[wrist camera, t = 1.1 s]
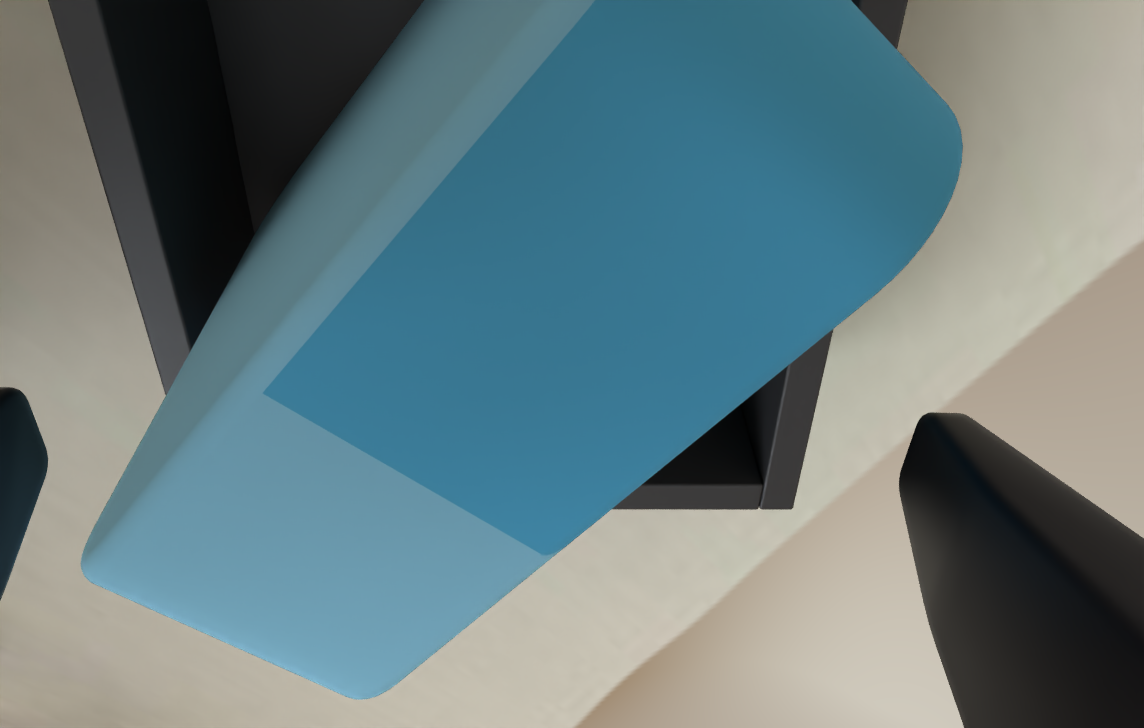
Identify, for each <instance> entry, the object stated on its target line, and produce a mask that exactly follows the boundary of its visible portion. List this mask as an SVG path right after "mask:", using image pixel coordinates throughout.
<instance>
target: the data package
mask: <svg viewBox="0 0 1144 728" xmlns="http://www.w3.org/2000/svg"><path fill="white" fill-rule="evenodd" d="M962 149H963V144H962V136H961V130H960V127H959V124H958V121H957V119H956V116H955V114H954V113H953V112H952V110H951V109H950V107H949V106H948V105H947V103H946V102H945V101H944V100H943V99H942V98H941V97H940V96H939V95H938V94H937V93H936V92H935V90H934V89H933V88H932V87H931V86H930V85H929V84H928V83H927V82H926V81H925V80H924V79H923V78H922V76H921V75H920V74H919V73H918V72H917V71H916V70H915V69H914V68H913V67H912V66H911V65H910V64H909V62H908V61H907V60H906V59H905V58H904V57H903V56H902V55H901V54H900V53H899V52H898V51H897V49H896V48H895V47H894V46H893V45H892V44H891V43H890V42H889V41H888V40H887V39H886V38H885V37H884V35H883V34H882V33H881V32H880V31H879V30H878V29H877V28H876V27H875V26H874V25H873V24H872V23H871V21H870V20H869V19H868V18H867V17H866V16H865V15H864V14H863V13H862V12H861V11H860V10H859V9H858V7H857V6H856V5H855V4H854V3H853V2H852V1H851V0H424V1H423V3H422V4H421V5H420V7H419V8H418V9H417V11H416V12H415V13H414V15H413V16H412V17H411V19H410V20H409V21H408V23H407V24H406V25H405V27H404V28H403V29H402V31H401V32H400V33H399V35H398V36H397V37H396V39H395V40H394V41H393V43H392V44H391V45H390V47H389V48H388V49H387V51H386V52H385V53H384V55H383V56H382V57H381V59H380V60H379V61H378V63H377V64H376V65H375V67H374V68H373V70H372V71H371V72H370V74H369V75H368V76H367V78H366V79H365V80H364V82H363V83H362V84H361V86H360V87H359V88H358V90H357V91H356V92H355V94H354V95H353V96H352V98H351V99H350V100H349V102H348V103H347V104H346V106H345V107H344V108H343V110H342V111H341V112H340V114H339V115H338V116H337V118H336V119H335V120H334V122H333V123H332V124H331V126H330V127H329V128H328V130H327V131H326V132H325V134H324V135H323V136H322V138H321V139H320V140H319V142H318V143H317V144H316V146H315V147H314V148H313V150H312V151H311V152H310V154H309V155H308V156H307V158H306V159H305V161H304V162H303V163H302V165H301V166H300V167H299V169H298V170H297V171H296V173H295V174H294V175H293V177H292V178H291V180H290V181H289V182H288V184H287V185H286V187H285V188H284V190H283V191H282V193H281V194H280V195H279V197H278V198H277V200H276V201H275V203H274V204H273V206H272V207H271V209H270V210H269V212H268V214H267V215H266V217H265V218H264V220H263V221H262V223H261V225H260V226H259V228H258V230H257V231H256V233H255V235H254V237H253V238H252V240H251V242H250V244H249V246H248V247H247V249H246V251H245V253H244V255H243V257H242V258H241V260H240V262H239V264H238V266H237V268H236V269H235V271H234V273H233V275H232V277H231V278H230V280H229V282H228V284H227V286H226V288H225V289H224V291H223V293H222V295H221V297H220V298H219V300H218V302H217V304H216V306H215V308H214V309H213V311H212V313H211V315H210V317H209V319H208V320H207V322H206V324H205V326H204V328H203V329H202V331H201V333H200V335H199V337H198V339H197V340H196V342H195V344H194V346H193V348H192V349H191V351H190V353H189V355H188V357H187V359H186V360H185V362H184V364H183V366H182V368H181V370H180V371H179V373H178V375H177V377H176V379H175V380H174V382H173V384H172V386H171V388H170V390H169V391H168V393H167V395H166V397H165V399H164V400H163V402H162V404H161V406H160V408H159V410H158V411H157V413H156V415H155V417H154V419H153V420H152V422H151V424H150V426H149V428H148V430H147V431H146V433H145V435H144V437H143V439H142V441H141V442H140V444H139V446H138V448H137V450H136V451H135V453H134V455H133V457H132V459H131V461H130V462H129V464H128V466H127V468H126V470H125V471H124V473H123V475H122V477H121V479H120V481H119V482H118V484H117V486H116V488H115V490H114V492H113V493H112V495H111V497H110V499H109V501H108V502H107V504H106V506H105V508H104V510H103V512H102V513H101V515H100V517H99V519H98V521H97V523H96V524H95V526H94V528H93V530H92V532H91V534H90V536H89V539H88V541H87V543H86V545H85V548H84V551H83V554H82V558H81V569H82V572H83V574H84V576H85V577H86V578H87V579H88V580H89V581H90V582H92V583H93V584H96V585H98V586H100V587H102V588H105V589H107V590H109V591H111V592H114V593H116V594H118V595H120V596H122V597H125V598H127V599H129V600H131V601H134V602H136V603H138V604H140V605H143V606H145V607H147V608H149V609H152V610H154V611H156V612H158V613H160V614H163V615H165V616H167V617H169V618H172V619H174V620H176V621H178V622H181V623H183V624H185V625H187V626H190V627H192V628H194V629H196V630H198V631H201V632H203V633H205V634H207V635H210V636H212V637H214V638H216V639H219V640H221V641H223V642H225V643H228V644H230V645H232V646H234V647H236V648H239V649H241V650H243V651H245V652H248V653H250V654H252V655H254V656H257V657H259V658H261V659H263V660H265V661H268V662H270V663H272V664H274V665H277V666H279V667H281V668H283V669H286V670H288V671H290V672H292V673H295V674H297V675H299V676H301V677H303V678H306V679H308V680H310V681H312V682H315V683H317V684H319V685H321V686H324V687H326V688H328V689H330V690H333V691H335V692H337V693H339V694H341V695H344V696H346V697H349V698H352V699H358V700H359V699H369V698H372V697H375V696H378V695H380V694H382V693H384V692H386V691H387V690H389V689H390V688H392V687H393V686H395V685H396V684H397V683H398V682H400V681H401V680H402V679H403V678H405V677H406V676H407V675H408V674H410V673H411V672H412V671H413V670H414V669H416V668H417V667H418V666H419V665H421V664H422V663H423V662H424V661H425V660H427V659H428V658H429V657H430V656H432V655H433V654H434V653H435V652H437V651H438V650H439V649H440V648H441V647H443V646H444V645H445V644H446V643H448V642H449V641H450V640H451V639H453V638H454V637H455V636H456V635H457V634H459V633H460V632H461V631H462V630H464V629H465V628H466V627H467V626H469V625H470V624H471V623H472V622H473V621H475V620H476V619H477V618H478V617H480V616H481V615H482V614H483V613H484V612H486V611H487V610H488V609H489V608H491V607H492V606H493V605H494V604H496V603H497V602H498V601H499V600H500V599H502V598H503V597H504V596H505V595H507V594H508V593H509V592H510V591H512V590H513V589H514V588H515V587H516V586H518V585H519V584H520V583H521V582H523V581H524V580H525V579H526V578H528V577H529V576H530V575H531V574H532V573H534V572H535V571H536V570H537V569H539V568H540V567H541V566H542V565H543V564H545V563H546V562H547V561H548V560H550V559H551V558H552V557H553V556H555V555H556V554H557V553H558V552H559V551H561V550H562V549H563V548H564V547H566V546H567V545H568V544H569V543H571V542H572V541H573V540H574V539H575V538H577V537H578V536H579V535H580V534H582V533H583V532H584V531H585V530H587V529H588V528H589V527H590V526H591V525H593V524H594V523H595V522H596V521H598V520H599V519H600V518H601V517H602V516H604V515H605V514H606V513H607V512H609V511H610V510H611V509H612V508H614V507H615V506H616V505H617V504H618V503H620V502H621V501H622V500H623V499H625V498H626V497H627V496H628V495H630V494H631V493H632V492H633V491H634V490H636V489H637V488H638V487H639V486H641V485H642V484H643V483H644V482H646V481H647V480H648V479H649V478H650V477H652V476H653V475H654V474H655V473H657V472H658V471H659V470H660V469H662V468H663V467H664V466H665V465H666V464H668V463H669V462H670V461H671V460H673V459H674V458H675V457H676V456H677V455H679V454H680V453H681V452H682V451H684V450H685V449H686V448H687V447H689V446H690V445H691V444H692V443H693V442H695V441H696V440H697V439H698V438H700V437H701V436H702V435H703V434H705V433H706V432H707V431H708V430H709V429H711V428H712V427H713V426H714V425H716V424H717V423H718V422H719V421H721V420H722V419H723V418H724V417H725V416H727V415H728V414H729V413H730V412H732V411H733V410H734V409H735V408H736V407H738V406H739V405H740V404H741V403H743V402H744V401H745V400H746V399H748V398H749V397H750V396H751V395H752V394H754V393H755V392H756V391H757V390H759V389H760V388H761V387H762V386H764V385H765V384H766V383H767V382H768V381H770V380H771V379H772V378H773V377H775V376H776V375H777V374H778V373H780V372H781V371H782V370H783V369H784V368H786V367H787V366H788V365H789V364H791V363H792V362H793V361H794V360H795V359H797V358H798V357H799V356H800V355H802V354H803V353H804V352H805V351H807V350H808V349H809V348H810V347H811V346H813V345H814V344H815V343H816V342H818V341H819V340H820V339H821V338H823V337H824V336H825V335H826V334H827V333H829V332H830V331H831V330H832V329H834V328H835V327H836V326H837V325H839V324H840V323H841V322H842V321H843V320H845V319H846V318H847V317H848V316H850V315H851V314H852V313H853V312H854V311H856V310H857V309H858V308H859V307H861V306H862V305H863V304H864V303H866V302H867V301H868V300H869V299H870V298H872V297H873V296H874V295H875V294H877V293H878V292H879V291H880V290H881V289H882V288H883V287H885V286H886V285H887V284H888V283H889V282H890V281H891V280H892V279H893V278H894V277H895V276H896V275H897V274H898V273H899V272H900V271H901V270H902V269H903V268H904V267H905V266H906V265H907V264H908V263H909V262H910V261H911V259H912V258H913V257H914V256H915V255H916V253H917V252H918V251H919V250H920V249H921V247H922V246H923V245H924V243H925V242H926V240H927V239H928V238H929V236H930V235H931V234H932V232H933V231H934V229H935V227H936V226H937V224H938V222H939V221H940V219H941V217H942V216H943V214H944V212H945V210H946V208H947V206H948V203H949V201H950V199H951V197H952V195H953V192H954V189H955V186H956V183H957V181H958V176H959V172H960V168H961V163H962Z"/></svg>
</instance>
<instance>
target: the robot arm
mask: <svg viewBox="0 0 1144 728" xmlns="http://www.w3.org/2000/svg"><path fill="white" fill-rule="evenodd" d="M47 467H48V456H47V450H46V447H45V444H44V442H43V439H42V436H41V434H40V431H39V428H38V426H37V423H36V420H35V418H34V415H33V413H32V410H31V407H30V405H29V402H28V400H27V398H26V396H25V395H24V394H23V393H22V392H21V391H20V390H18V389H15V388H10V387H0V600H1V598H2V595H3V593H4V590H5V588H6V585H7V582H8V580H9V577H10V574H11V571H12V568H13V566H14V563H15V560H16V557H17V554H18V552H19V549H20V546H21V543H22V541H23V538H24V535H25V532H26V529H27V527H28V524H29V521H30V518H31V515H32V513H33V510H34V507H35V504H36V502H37V499H38V496H39V493H40V490H41V488H42V485H43V482H44V479H45V476H46V473H47ZM899 491H900V497H901V501H902V506H903V511H904V515H905V520H906V524H907V529H908V533H909V538H910V543H911V547H912V552H913V556H914V561H915V566H916V570H917V575H918V579H919V584H920V588H921V593H922V597H923V602H924V606H925V610H926V614H927V618H928V622H929V625H930V628H931V631H932V635H933V638H934V641H935V644H936V647H937V650H938V653H939V656H940V659H941V662H942V664H943V667H944V670H945V673H946V676H947V679H948V682H949V685H950V687H951V690H952V693H953V696H954V699H955V702H956V705H957V708H958V710H959V713H960V716H961V719H962V722H963V725H964V728H1144V538H1142V537H1141V536H1139V535H1138V534H1137V533H1135V532H1134V531H1132V530H1131V529H1129V528H1128V527H1126V526H1125V525H1124V524H1122V523H1121V522H1119V521H1118V520H1116V519H1115V518H1114V517H1112V516H1111V515H1109V514H1108V513H1106V512H1105V511H1104V510H1102V509H1101V508H1099V507H1098V506H1096V505H1095V504H1093V503H1092V502H1091V501H1089V500H1088V499H1086V498H1085V497H1084V496H1082V495H1081V494H1079V493H1078V492H1076V491H1075V490H1073V489H1072V488H1071V487H1069V486H1068V485H1066V484H1065V483H1063V482H1062V481H1060V480H1059V479H1058V478H1056V477H1055V476H1053V475H1052V474H1051V473H1049V472H1048V471H1046V470H1045V469H1043V468H1042V467H1040V466H1039V465H1038V464H1036V463H1035V462H1033V461H1032V460H1031V459H1029V458H1028V457H1026V456H1025V455H1023V454H1022V453H1020V452H1019V451H1017V450H1016V449H1015V448H1013V447H1012V446H1010V445H1009V444H1008V443H1006V442H1005V441H1003V440H1002V439H1000V438H999V437H997V436H996V435H995V434H993V433H992V432H990V431H989V430H987V429H986V428H985V427H983V426H982V425H980V424H979V423H977V422H976V421H975V420H973V419H972V418H970V417H969V416H967V415H964V414H960V413H927V414H925V415H923V416H922V417H921V418H920V420H919V421H918V423H917V426H916V428H915V431H914V434H913V437H912V440H911V443H910V446H909V449H908V451H907V454H906V457H905V460H904V463H903V466H902V469H901V472H900V478H899Z"/></svg>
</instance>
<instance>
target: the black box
mask: <svg viewBox="0 0 1144 728" xmlns="http://www.w3.org/2000/svg"><path fill="white" fill-rule="evenodd" d="M423 1H424V0H48V2H49V5H50V8H51V12H52V15H53V19H54V22H55V25H56V29H57V32H58V35H59V39H60V42H61V45H62V49H63V52H64V55H65V59H66V62H67V65H68V69H69V72H70V76H71V79H72V82H73V86H74V89H75V92H76V96H77V99H78V102H79V106H80V109H81V112H82V116H83V119H84V123H85V126H86V129H87V133H88V136H89V139H90V143H91V146H92V149H93V153H94V156H95V159H96V163H97V166H98V169H99V173H100V176H101V180H102V183H103V186H104V190H105V193H106V196H107V200H108V203H109V206H110V210H111V213H112V216H113V220H114V223H115V227H116V230H117V233H118V237H119V240H120V243H121V247H122V250H123V253H124V257H125V260H126V263H127V267H128V270H129V273H130V277H131V280H132V284H133V287H134V290H135V294H136V297H137V300H138V304H139V307H140V310H141V314H142V317H143V320H144V324H145V327H146V331H147V334H148V337H149V341H150V344H151V347H152V351H153V354H154V357H155V361H156V364H157V367H158V371H159V374H160V377H161V381H162V384H163V388H164V391H165V394H166V395H167V393H168V391H169V390H170V388H171V386H172V384H173V382H174V380H175V379H176V377H177V375H178V373H179V371H180V370H181V368H182V366H183V364H184V362H185V360H186V359H187V357H188V355H189V353H190V351H191V349H192V348H193V346H194V344H195V342H196V340H197V339H198V337H199V335H200V333H201V331H202V329H203V328H204V326H205V324H206V322H207V320H208V319H209V317H210V315H211V313H212V311H213V309H214V308H215V306H216V304H217V302H218V300H219V298H220V297H221V295H222V293H223V291H224V289H225V288H226V286H227V284H228V282H229V280H230V278H231V277H232V275H233V273H234V271H235V269H236V268H237V266H238V264H239V262H240V260H241V258H242V257H243V255H244V253H245V251H246V249H247V247H248V246H249V244H250V242H251V240H252V238H253V237H254V235H255V233H256V231H257V230H258V228H259V226H260V225H261V223H262V221H263V220H264V218H265V217H266V215H267V214H268V212H269V210H270V209H271V207H272V206H273V204H274V203H275V201H276V200H277V198H278V197H279V195H280V194H281V193H282V191H283V190H284V188H285V187H286V185H287V184H288V182H289V181H290V180H291V178H292V177H293V175H294V174H295V173H296V171H297V170H298V169H299V167H300V166H301V165H302V163H303V162H304V161H305V159H306V158H307V156H308V155H309V154H310V152H311V151H312V150H313V148H314V147H315V146H316V144H317V143H318V142H319V140H320V139H321V138H322V136H323V135H324V134H325V132H326V131H327V130H328V128H329V127H330V126H331V124H332V123H333V122H334V120H335V119H336V118H337V116H338V115H339V114H340V112H341V111H342V110H343V108H344V107H345V106H346V104H347V103H348V102H349V100H350V99H351V98H352V96H353V95H354V94H355V92H356V91H357V90H358V88H359V87H360V86H361V84H362V83H363V82H364V80H365V79H366V78H367V76H368V75H369V74H370V72H371V71H372V70H373V68H374V67H375V65H376V64H377V63H378V61H379V60H380V59H381V57H382V56H383V55H384V53H385V52H386V51H387V49H388V48H389V47H390V45H391V44H392V43H393V41H394V40H395V39H396V37H397V36H398V35H399V33H400V32H401V31H402V29H403V28H404V27H405V25H406V24H407V23H408V21H409V20H410V19H411V17H412V16H413V15H414V13H415V12H416V11H417V9H418V8H419V7H420V5H421V4H422V3H423ZM851 1H852V2H853V3H854V4H855V5H856V6H857V7H858V9H859V10H860V11H861V12H862V13H863V14H864V15H865V16H866V17H867V18H868V19H869V20H870V21H871V23H872V24H873V25H874V26H875V27H876V28H877V29H878V30H879V31H880V32H881V33H882V34H883V35H884V37H885V38H886V39H887V40H888V41H889V42H890V43H891V44H892V45H893V46H894V47H895V48H896V49H897V46H898V42H899V37H900V33H901V28H902V24H903V20H904V15H905V11H906V6H907V2H908V0H851ZM832 333H833V329H832V330H831V331H830V332H829V333H827V334H826V335H825V336H824V337H823V338H821V339H820V340H819V341H818V342H816V343H815V344H814V345H813V346H811V347H810V348H809V349H808V350H807V351H805V352H804V353H803V354H802V355H800V356H799V357H798V358H797V359H795V360H794V361H793V362H792V363H791V364H789V365H788V366H787V367H786V368H784V369H783V370H782V371H781V372H780V373H778V374H777V375H776V376H775V377H773V378H772V379H771V380H770V381H768V382H767V383H766V384H765V385H764V386H762V387H761V388H760V389H759V390H757V391H756V392H755V393H754V394H752V395H751V396H750V397H749V398H748V399H746V400H745V401H744V402H743V403H741V404H740V405H739V406H738V407H736V408H735V409H734V410H733V411H732V412H730V413H729V414H728V415H727V416H725V417H724V418H723V419H722V420H721V421H719V422H718V423H717V424H716V425H714V426H713V427H712V428H711V429H709V430H708V431H707V432H706V433H705V434H703V435H702V436H701V437H700V438H698V439H697V440H696V441H695V442H693V443H692V444H691V445H690V446H689V447H687V448H686V449H685V450H684V451H682V452H681V453H680V454H679V455H677V456H676V457H675V458H674V459H673V460H671V461H670V462H669V463H668V464H666V465H665V466H664V467H663V468H662V469H660V470H659V471H658V472H657V473H655V474H654V475H653V476H652V477H650V478H649V479H648V480H647V481H646V482H644V483H643V484H642V485H641V486H639V487H638V488H637V489H636V490H634V491H633V492H632V493H631V494H630V495H628V496H627V497H626V498H625V499H623V500H622V501H621V502H620V503H618V504H617V505H616V506H615V507H614V508H612V509H758V508H759V507H760V509H792V508H793V505H794V500H795V496H796V492H797V487H798V483H799V478H800V474H801V470H802V465H803V461H804V456H805V452H806V447H807V443H808V439H809V434H810V430H811V425H812V421H813V417H814V412H815V408H816V403H817V399H818V395H819V390H820V386H821V381H822V377H823V373H824V368H825V364H826V359H827V355H828V350H829V346H830V342H831V337H832Z"/></svg>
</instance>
